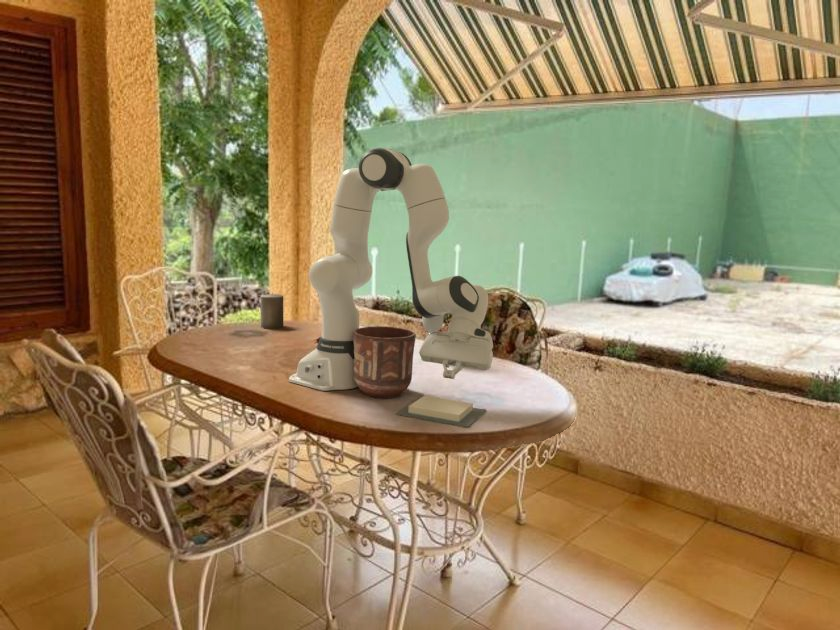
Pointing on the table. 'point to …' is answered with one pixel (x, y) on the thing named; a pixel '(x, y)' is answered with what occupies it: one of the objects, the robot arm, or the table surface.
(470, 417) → the mat
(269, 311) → the pillar candle
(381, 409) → the table surface
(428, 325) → the wineglass
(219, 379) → the table surface
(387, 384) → the pottery
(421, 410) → the tile
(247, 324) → the table surface
